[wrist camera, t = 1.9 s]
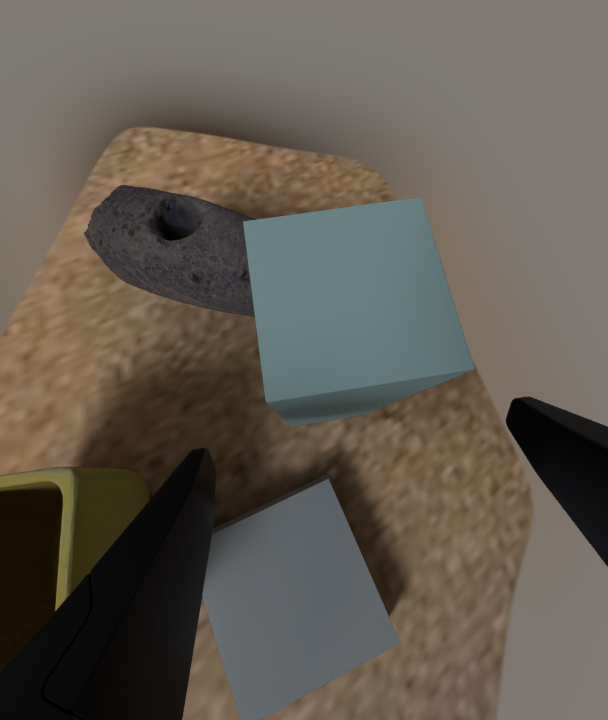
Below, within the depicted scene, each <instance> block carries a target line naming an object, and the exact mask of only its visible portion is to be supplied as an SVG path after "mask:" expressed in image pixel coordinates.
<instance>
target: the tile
mask: <svg viewBox="0 0 608 720" xmlns="http://www.w3.org/2000/svg"><path fill="white" fill-rule="evenodd" d="M202 596H203V600H204V603H205V606H206V609H207V613H208V616H209V619H210V622H211V626H212V629H213V632H214V635H215V639H216V642H217V645H218V648H219V652H220V655H221V658H222V661H223V665H224V668H225V671H226V675H227V678H228V681H229V684H230V688H231V691H232V694H233V697H234V701H235V704H236V707H237V710H238V714H239V717H240V720H262V719H263V718H265V717H267V716H269V715H271V714H272V713H274V712H276V711H278V710H280V709H281V708H283V707H285V706H287V705H289V704H290V703H292V702H294V701H296V700H298V699H299V698H301V697H303V696H305V695H307V694H308V693H310V692H312V691H314V690H316V689H317V688H319V687H321V686H323V685H325V684H326V683H328V682H330V681H332V680H334V679H335V678H337V677H339V676H341V675H343V674H344V673H346V672H348V671H350V670H352V669H353V668H355V667H357V666H359V665H361V664H363V663H364V662H366V661H368V660H370V659H372V658H373V657H375V656H377V655H379V654H381V653H382V652H384V651H386V650H388V649H390V648H391V647H393V646H395V645H397V644H399V643H400V641H399V638H398V636H397V634H396V632H395V629H394V627H393V625H392V622H391V620H390V618H389V616H388V613H387V611H386V609H385V606H384V604H383V602H382V600H381V597H380V595H379V593H378V590H377V588H376V586H375V583H374V581H373V579H372V577H371V574H370V572H369V570H368V567H367V565H366V563H365V561H364V558H363V556H362V554H361V551H360V549H359V547H358V545H357V542H356V540H355V538H354V535H353V533H352V531H351V529H350V526H349V524H348V522H347V519H346V517H345V515H344V513H343V510H342V508H341V506H340V503H339V501H338V499H337V497H336V494H335V492H334V490H333V487H332V485H331V483H330V481H329V478H328V477H327V475H324V476H322V477H320V478H317V479H315V480H313V481H311V482H309V483H307V484H305V485H303V486H301V487H299V488H297V489H294V490H292V491H290V492H288V493H286V494H284V495H282V496H280V497H278V498H276V499H273V500H271V501H269V502H267V503H265V504H263V505H261V506H259V507H257V508H255V509H253V510H250V511H248V512H246V513H244V514H242V515H240V516H238V517H236V518H234V519H232V520H230V521H227V522H225V523H223V524H221V525H219V526H217V527H215V528H213V531H212V538H211V544H210V551H209V557H208V563H207V569H206V575H205V582H204V588H203V594H202Z"/></svg>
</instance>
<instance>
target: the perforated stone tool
mask: <svg viewBox="0 0 608 720" xmlns="http://www.w3.org/2000/svg"><path fill="white" fill-rule="evenodd" d="M250 220H256V219H253V218H250V217H248V216H245V215H243V214H240V213H238V212H235V211H233V210H230V209H227V208H224V207H221V206H219V205H216V204H213V203H211V202H208V201H205V200H202V199H198V198H195V197H191V196H186V195H180V194H175V193H169V192H165V191H160V190H156V189H150V188H141V187H132V186H127V185H121V186H119V187H117V188H116V189H115V190H113V192H111V194H110V196H109V197H107V198H105V200H104V201H102V202H101V205H99V206H97V207H96V208H94V211H93V213H92V215H91V220H90V222H89V224H88V229H87V230H86V232H84V234H85V236H86V238H87V240H88V241H87V242H88V243H89V245H90V246H91V247H92V249H93V250H94V251H95V252H96V253H97V254H98V256H99V257H100V258H101V259H102V260H103V262H104V263H105V264H106V266H107V267H108V268H109V269H110V270H111V271H112V272H113V273H114V274H115V275H116V276H117V277H119V278H120V279H121V280H123V281H124V282H126V283H128V284H131V285H133V286H135V287H138V288H140V289H143V290H146V291H148V292H151V293H154V294H156V295H159V296H163V297H166V298H169V299H173V300H176V301H179V302H183V303H187V304H191V305H195V306H199V307H203V308H207V309H212V310H217V311H222V312H228V313H234V314H242V315H248V316H255V313H254V305H253V297H252V289H251V281H250V273H249V265H248V257H247V249H246V241H245V233H244V225H243V221H250Z"/></svg>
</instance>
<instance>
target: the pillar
mask: <svg viewBox="0 0 608 720" xmlns="http://www.w3.org/2000/svg"><path fill="white" fill-rule="evenodd" d="M243 225H244V233H245V241H246V249H247V257H248V265H249V273H250V281H251V289H252V297H253V305H254V313H255V321H256V328H257V336H258V344H259V352H260V360H261V368H262V376H263V384H264V392H265V400H266V403H267V404H268V405H269V406H270V407H271V408H272V409H273V410H274V411H276V412H277V413H278V414H279V415H280V416H281V417H282V418H283V419H284V420H285V421H286V422H288V423H289V424H290V425H291V426H292V427H294V426H300V425H306V424H312V423H318V422H324V421H331V420H337V419H343V418H349V417H355V416H361V415H364V414H367V413H369V412H372V411H374V410H377V409H379V408H382V407H384V406H386V405H389V404H391V403H394V402H396V401H399V400H401V399H404V398H406V397H408V396H411V395H413V394H416V393H418V392H421V391H423V390H426V389H428V388H430V387H433V386H435V385H438V384H440V383H443V382H445V381H448V380H450V379H452V378H455V377H457V376H460V375H462V374H465V373H467V372H469V371H472V370H474V365H473V362H472V359H471V356H470V353H469V349H468V346H467V343H466V340H465V337H464V333H463V330H462V327H461V324H460V321H459V317H458V314H457V311H456V308H455V305H454V301H453V298H452V295H451V292H450V289H449V285H448V282H447V279H446V276H445V273H444V269H443V266H442V263H441V260H440V256H439V253H438V250H437V247H436V244H435V241H434V237H433V234H432V231H431V228H430V225H429V221H428V218H427V215H426V212H425V209H424V206H423V202H422V199H421V197H418V198H412V199H404V200H396V201H389V202H382V203H375V204H367V205H360V206H353V207H345V208H338V209H331V210H323V211H316V212H309V213H301V214H294V215H287V216H279V217H272V218H265V219H257V220H250V221H243Z"/></svg>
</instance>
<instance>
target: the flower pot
mask: <svg viewBox="0 0 608 720" xmlns="http://www.w3.org/2000/svg"><path fill="white" fill-rule="evenodd" d="M148 501H149V487H148V484H147V481H146V480H145V478H144V477H143V476H142V475H141V474H139V473H137V472H135V471H132V470H128V469H116V468H90V467H54V468H47V469H40V470H34V471H27V472H20V473H14V474H7V475H0V671H1V670H2V669H3V668H4V667H5V665H6V664H7V663H8V662H9V661H10V660H11V659H12V658H13V657H14V656H15V655H16V654H17V653H18V652H19V651H20V650H21V648H22V647H23V646H24V645H25V644H26V643H27V642H28V641H29V640H30V639H31V638H32V636H33V635H34V634H35V633H36V632H37V631H38V630H39V629H40V628H41V627H42V626H43V625H44V623H45V622H46V621H47V620H48V619H49V618H50V617H51V616H52V614H53V613H54V612H55V611H56V610H57V609H58V608H59V606H60V605H61V604H62V603H63V602H64V601H65V600H66V598H67V597H68V596H69V595H70V594H71V593H72V591H73V590H74V589H75V588H76V587H77V586H78V584H79V583H80V582H81V581H82V580H83V578H84V577H85V576H86V575H87V574H89V573H90V571H91V569H92V568H93V567H94V565H95V564H96V563H97V562H98V561H99V560H100V558H101V557H102V556H103V555H104V554H105V552H106V551H107V550H108V549H109V548H110V546H111V545H112V544H113V543H114V542H115V541H116V539H117V538H118V537H119V536H120V535H121V533H122V532H123V531H124V530H125V529H126V527H127V526H128V525H129V524H130V523H131V521H132V520H133V519H134V518H135V517H136V516H137V514H138V513H139V512H140V511H141V510H142V508H143V507H144V506H145V505H146V504H147V502H148Z"/></svg>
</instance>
